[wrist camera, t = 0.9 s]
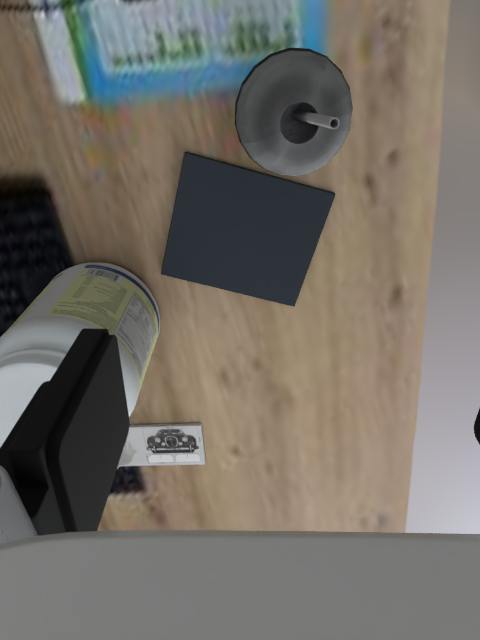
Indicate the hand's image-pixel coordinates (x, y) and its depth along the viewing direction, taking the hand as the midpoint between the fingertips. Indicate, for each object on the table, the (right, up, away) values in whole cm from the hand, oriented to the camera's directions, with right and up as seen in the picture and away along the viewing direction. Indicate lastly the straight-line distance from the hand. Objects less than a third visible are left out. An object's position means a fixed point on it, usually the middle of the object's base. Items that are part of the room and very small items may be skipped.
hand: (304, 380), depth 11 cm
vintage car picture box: (-14, -14, +47) cm, 51 cm away
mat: (-1, +10, +33) cm, 34 cm away
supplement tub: (-16, +3, +37) cm, 41 cm away
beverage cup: (+2, +20, +27) cm, 34 cm away
